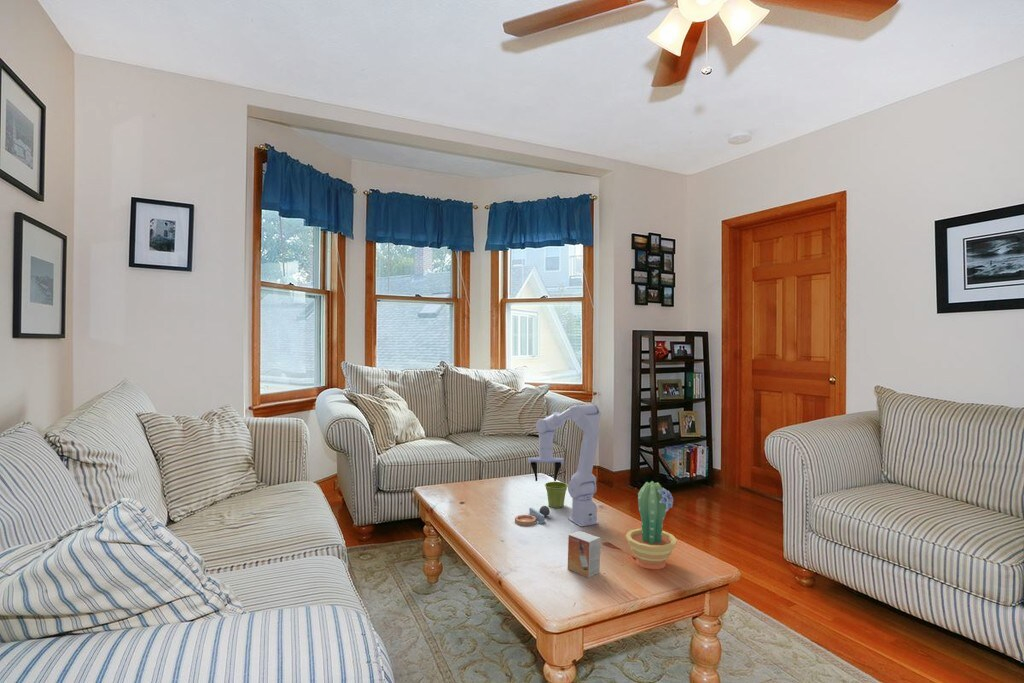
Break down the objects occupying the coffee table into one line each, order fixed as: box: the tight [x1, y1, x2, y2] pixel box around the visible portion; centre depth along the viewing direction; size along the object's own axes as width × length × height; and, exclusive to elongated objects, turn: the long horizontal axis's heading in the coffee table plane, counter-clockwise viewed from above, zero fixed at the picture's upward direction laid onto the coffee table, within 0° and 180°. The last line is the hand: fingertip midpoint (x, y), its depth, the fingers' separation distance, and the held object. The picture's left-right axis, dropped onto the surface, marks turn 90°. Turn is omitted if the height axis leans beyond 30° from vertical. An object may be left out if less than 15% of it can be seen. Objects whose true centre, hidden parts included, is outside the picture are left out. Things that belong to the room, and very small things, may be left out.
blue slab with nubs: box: [528, 507, 547, 525], centre depth 201 cm, size 10×2×3 cm, turn 26°
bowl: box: [514, 514, 537, 527], centre depth 199 cm, size 8×8×1 cm
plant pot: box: [544, 481, 568, 509], centre depth 218 cm, size 9×9×9 cm
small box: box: [567, 530, 601, 578], centre depth 158 cm, size 8×6×10 cm
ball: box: [538, 505, 551, 518], centre depth 205 cm, size 4×4×4 cm
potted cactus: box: [625, 480, 678, 570], centre depth 164 cm, size 15×15×25 cm
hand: (545, 480), depth 219 cm, fingers open, 7 cm apart
